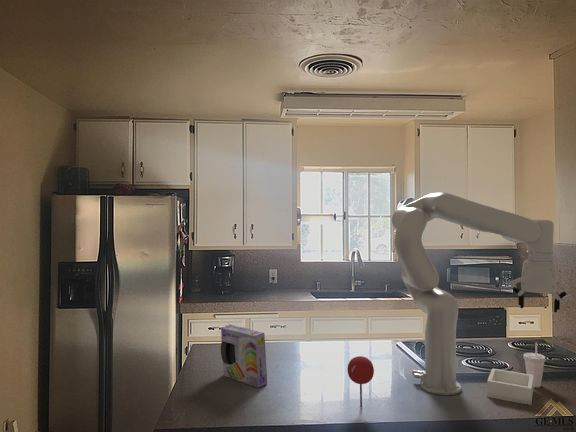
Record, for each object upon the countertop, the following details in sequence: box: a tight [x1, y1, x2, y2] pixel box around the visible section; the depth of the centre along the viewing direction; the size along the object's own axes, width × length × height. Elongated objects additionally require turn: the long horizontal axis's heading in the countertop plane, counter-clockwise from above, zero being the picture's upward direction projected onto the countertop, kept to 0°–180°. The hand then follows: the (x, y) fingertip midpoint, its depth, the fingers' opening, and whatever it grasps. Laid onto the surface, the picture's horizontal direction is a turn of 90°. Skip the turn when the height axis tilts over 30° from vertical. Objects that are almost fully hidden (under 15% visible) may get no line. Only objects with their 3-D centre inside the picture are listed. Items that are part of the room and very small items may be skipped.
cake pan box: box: [220, 324, 268, 388], centre depth 155 cm, size 19×5×18 cm, turn 47°
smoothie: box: [523, 342, 546, 388], centre depth 148 cm, size 6×6×14 cm
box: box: [486, 368, 534, 406], centre depth 142 cm, size 12×12×5 cm
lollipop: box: [347, 355, 375, 408], centre depth 133 cm, size 8×8×15 cm
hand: (538, 309), depth 148 cm, fingers open, 9 cm apart
